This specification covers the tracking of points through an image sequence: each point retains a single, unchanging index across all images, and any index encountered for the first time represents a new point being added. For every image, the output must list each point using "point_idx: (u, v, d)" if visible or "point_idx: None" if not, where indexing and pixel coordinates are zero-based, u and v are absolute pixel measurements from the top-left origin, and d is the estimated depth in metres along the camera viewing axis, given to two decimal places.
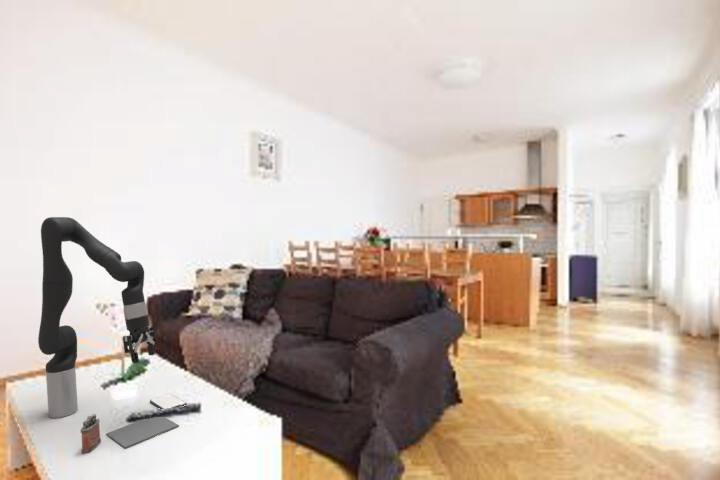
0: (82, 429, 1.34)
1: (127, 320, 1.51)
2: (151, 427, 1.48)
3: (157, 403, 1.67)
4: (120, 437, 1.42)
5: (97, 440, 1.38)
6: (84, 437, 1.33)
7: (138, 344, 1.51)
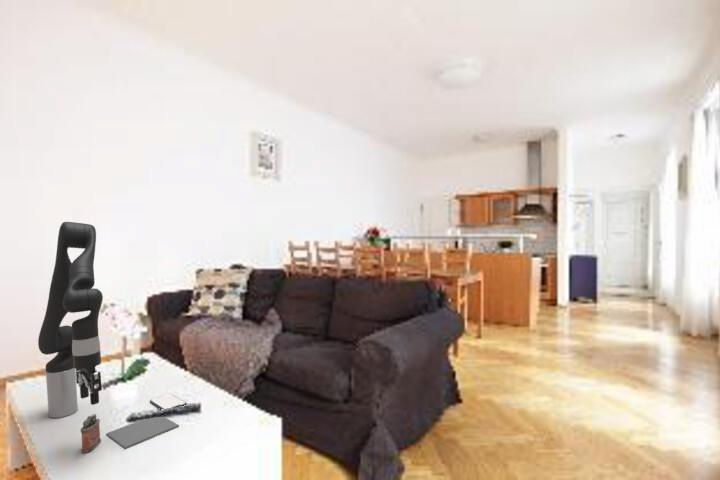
0: (82, 429, 1.34)
1: None
2: (151, 427, 1.48)
3: (157, 403, 1.67)
4: (120, 437, 1.42)
5: (97, 440, 1.38)
6: (84, 437, 1.33)
7: (78, 380, 1.37)
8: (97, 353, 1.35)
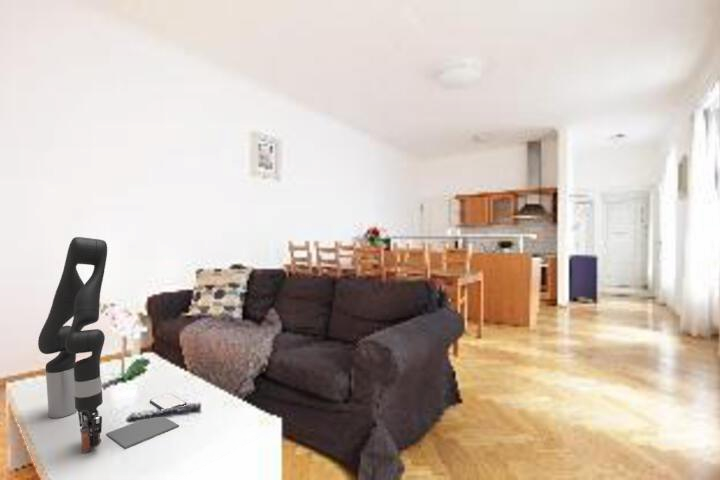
0: (82, 429, 1.34)
1: None
2: (151, 427, 1.48)
3: (157, 403, 1.67)
4: (120, 437, 1.42)
5: None
6: (83, 437, 1.33)
7: (81, 423, 1.37)
8: (99, 394, 1.36)
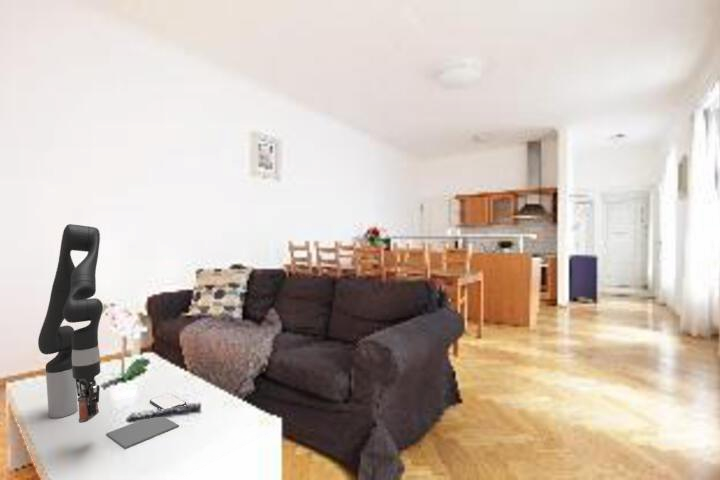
0: (79, 398, 1.33)
1: None
2: (151, 427, 1.48)
3: (157, 403, 1.67)
4: (120, 437, 1.42)
5: None
6: (81, 406, 1.33)
7: (79, 392, 1.37)
8: (96, 363, 1.35)
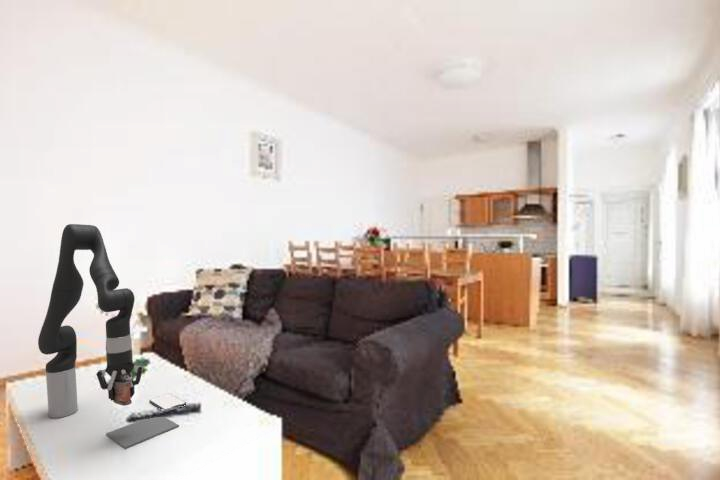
0: (124, 382, 1.40)
1: None
2: (151, 427, 1.48)
3: (157, 403, 1.67)
4: (120, 437, 1.42)
5: None
6: (128, 389, 1.40)
7: (111, 382, 1.40)
8: None
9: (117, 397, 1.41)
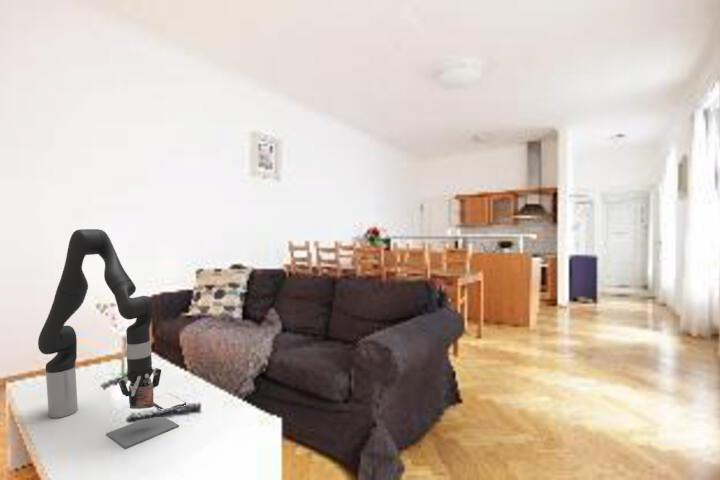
0: (149, 386, 1.46)
1: (127, 359, 1.43)
2: (151, 427, 1.48)
3: (156, 403, 1.67)
4: (120, 437, 1.42)
5: None
6: (152, 391, 1.47)
7: (135, 387, 1.43)
8: None
9: (138, 402, 1.45)
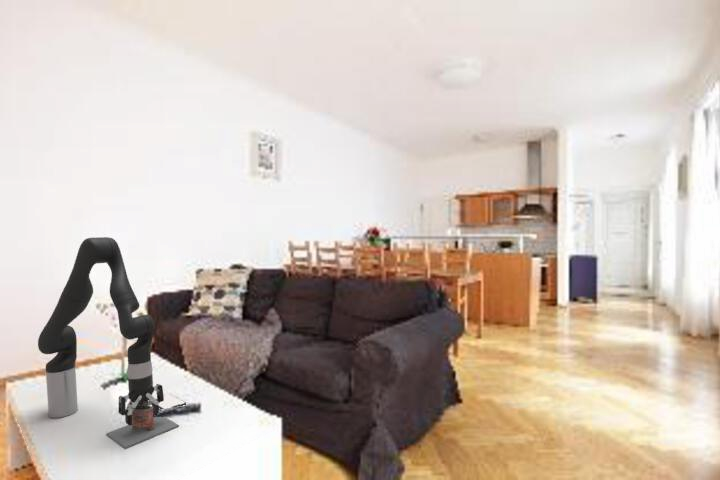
0: (148, 409, 1.45)
1: (128, 379, 1.44)
2: None
3: None
4: (120, 437, 1.42)
5: None
6: (152, 415, 1.46)
7: (133, 407, 1.43)
8: None
9: (139, 424, 1.46)
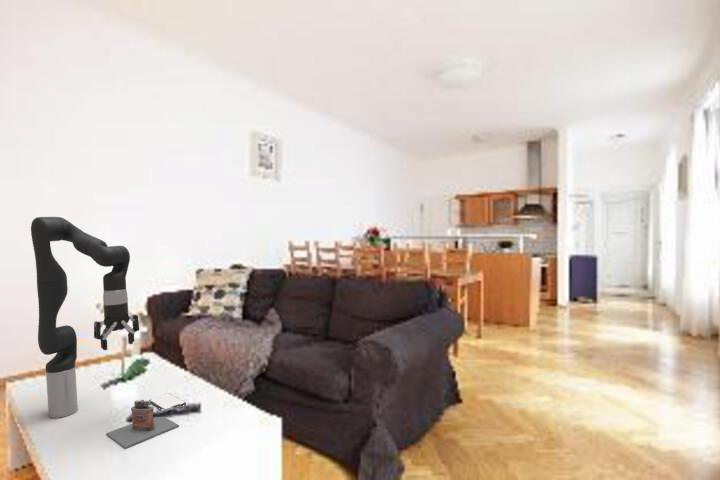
0: (148, 409, 1.46)
1: None
2: None
3: (156, 403, 1.67)
4: (120, 437, 1.42)
5: None
6: (152, 414, 1.46)
7: (108, 332, 1.47)
8: None
9: (139, 424, 1.46)
